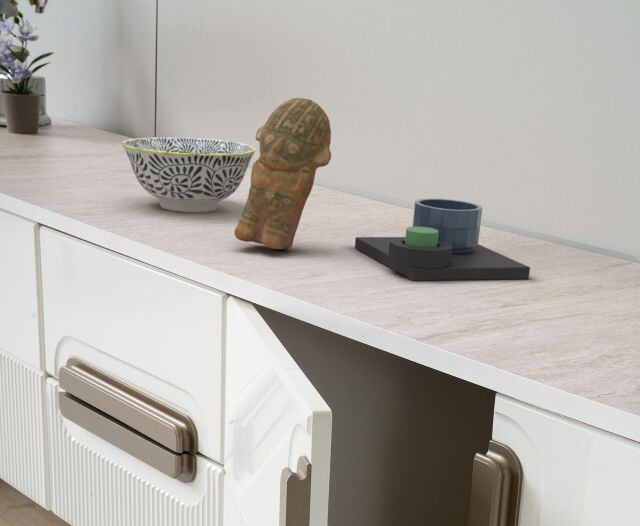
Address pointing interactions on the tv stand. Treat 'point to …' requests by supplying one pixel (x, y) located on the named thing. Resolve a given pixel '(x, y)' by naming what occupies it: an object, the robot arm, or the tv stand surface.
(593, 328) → the tv stand surface
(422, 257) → the black flat block
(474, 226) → the small bowl
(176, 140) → the bowl
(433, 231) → the button
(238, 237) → the figurine
